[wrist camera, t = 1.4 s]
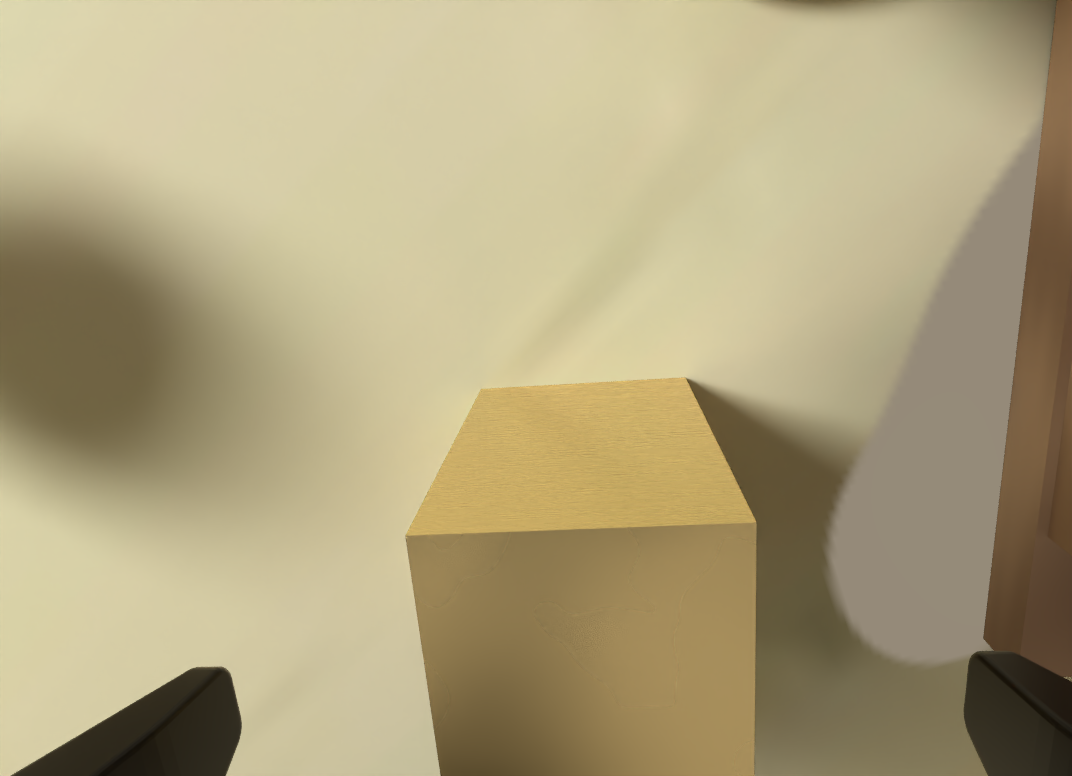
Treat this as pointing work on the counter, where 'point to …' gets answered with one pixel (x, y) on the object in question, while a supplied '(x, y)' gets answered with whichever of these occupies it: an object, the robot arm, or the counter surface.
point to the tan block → (588, 588)
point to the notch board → (1041, 409)
